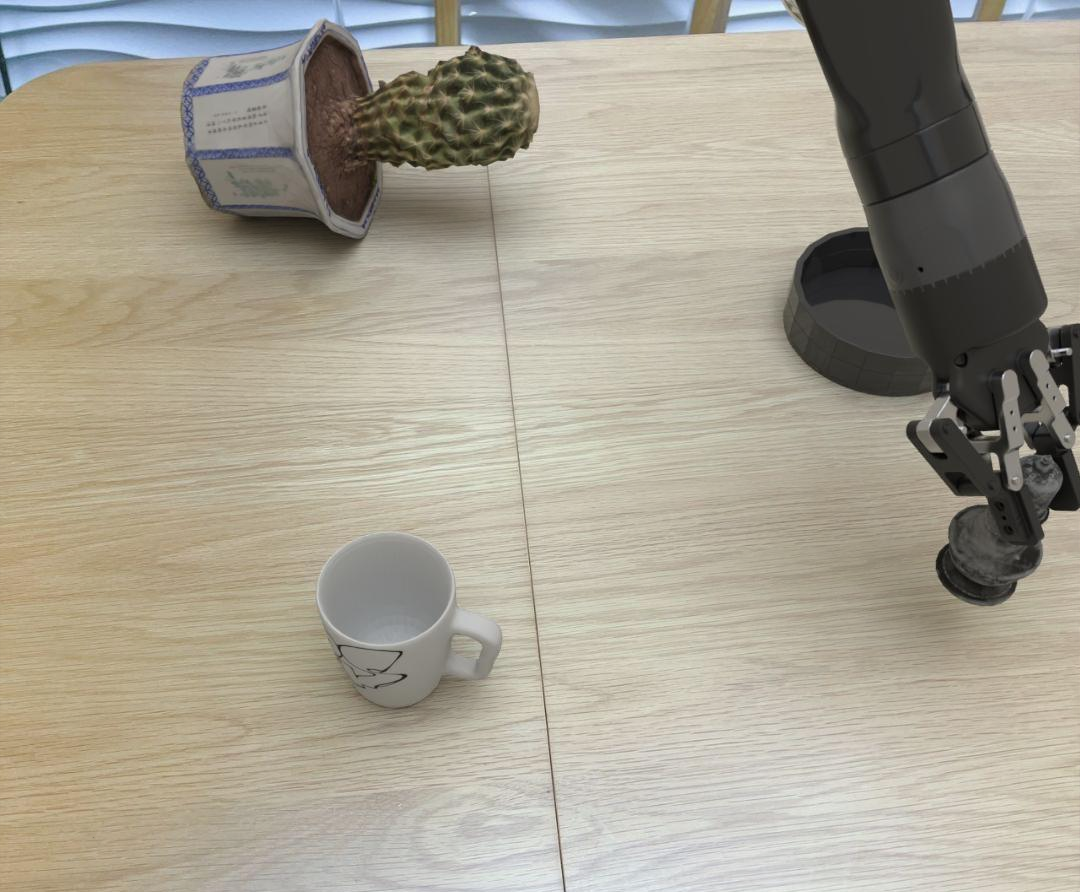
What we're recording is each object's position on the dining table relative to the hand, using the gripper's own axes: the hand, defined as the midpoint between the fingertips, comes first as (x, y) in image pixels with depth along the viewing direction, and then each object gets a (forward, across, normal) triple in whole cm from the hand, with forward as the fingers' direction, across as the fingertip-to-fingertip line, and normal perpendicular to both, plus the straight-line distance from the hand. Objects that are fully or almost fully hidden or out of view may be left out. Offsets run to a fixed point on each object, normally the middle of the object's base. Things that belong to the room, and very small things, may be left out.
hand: (1047, 523), depth 65 cm
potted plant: (-35, -6, +55) cm, 66 cm away
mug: (-5, -31, +26) cm, 41 cm away
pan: (-7, +20, +28) cm, 35 cm away
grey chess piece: (+4, 0, +7) cm, 8 cm away
